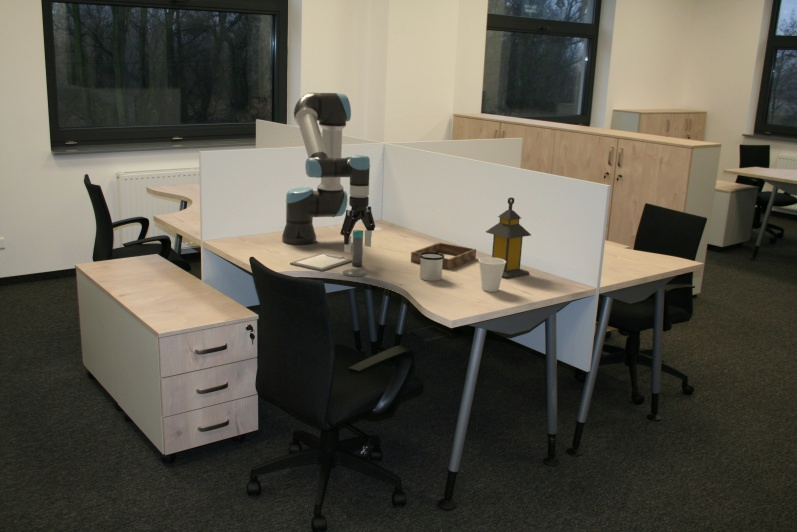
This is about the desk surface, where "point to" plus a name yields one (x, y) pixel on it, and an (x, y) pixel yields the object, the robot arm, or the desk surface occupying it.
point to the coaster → (354, 272)
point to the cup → (491, 273)
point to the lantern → (509, 242)
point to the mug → (431, 266)
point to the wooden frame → (460, 252)
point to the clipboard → (322, 262)
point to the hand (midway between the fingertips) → (357, 249)
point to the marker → (357, 248)
